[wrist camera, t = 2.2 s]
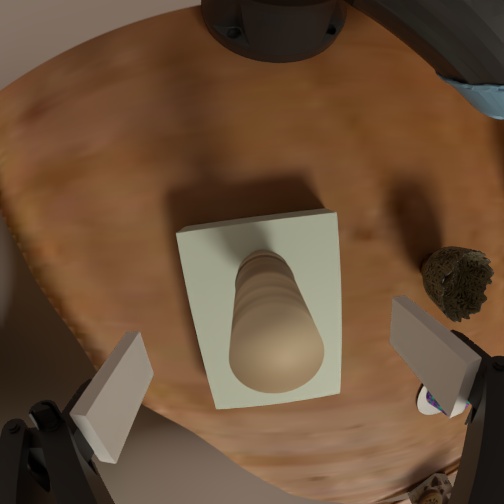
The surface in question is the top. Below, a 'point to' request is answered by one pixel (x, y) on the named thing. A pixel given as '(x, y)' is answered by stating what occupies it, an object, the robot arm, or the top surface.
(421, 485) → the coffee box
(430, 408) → the pudding
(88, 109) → the top surface
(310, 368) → the peg
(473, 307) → the cup
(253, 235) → the board
